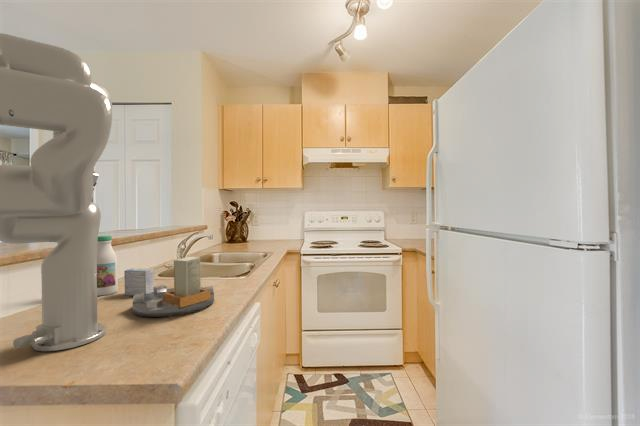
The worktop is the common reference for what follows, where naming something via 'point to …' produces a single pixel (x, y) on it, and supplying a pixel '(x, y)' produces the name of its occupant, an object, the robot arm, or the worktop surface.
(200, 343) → the worktop surface
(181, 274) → the skincare box
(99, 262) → the milk bottle
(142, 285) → the medicine box
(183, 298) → the round grey platter
